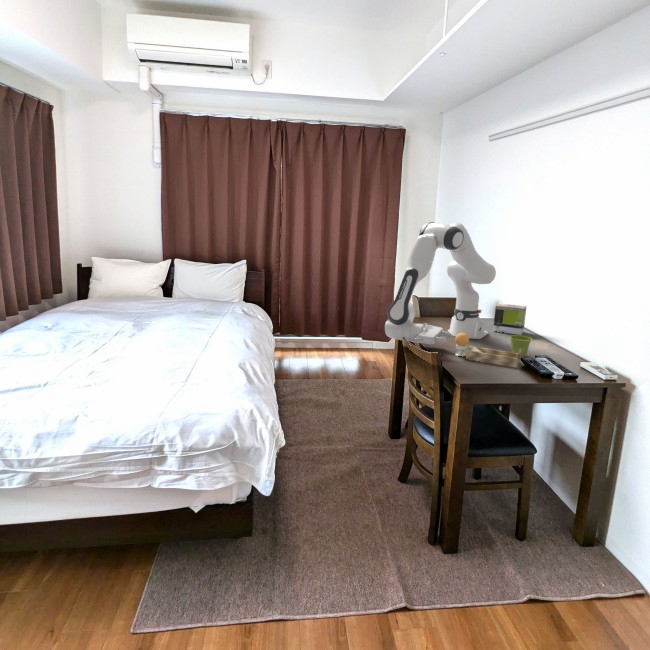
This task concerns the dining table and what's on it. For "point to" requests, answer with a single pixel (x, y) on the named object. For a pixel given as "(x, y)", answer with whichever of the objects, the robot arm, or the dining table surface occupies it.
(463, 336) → the ball
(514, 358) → the lane
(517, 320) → the white retro computer
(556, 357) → the dining table surface
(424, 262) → the robot arm
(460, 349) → the tee
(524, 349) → the plant pot
